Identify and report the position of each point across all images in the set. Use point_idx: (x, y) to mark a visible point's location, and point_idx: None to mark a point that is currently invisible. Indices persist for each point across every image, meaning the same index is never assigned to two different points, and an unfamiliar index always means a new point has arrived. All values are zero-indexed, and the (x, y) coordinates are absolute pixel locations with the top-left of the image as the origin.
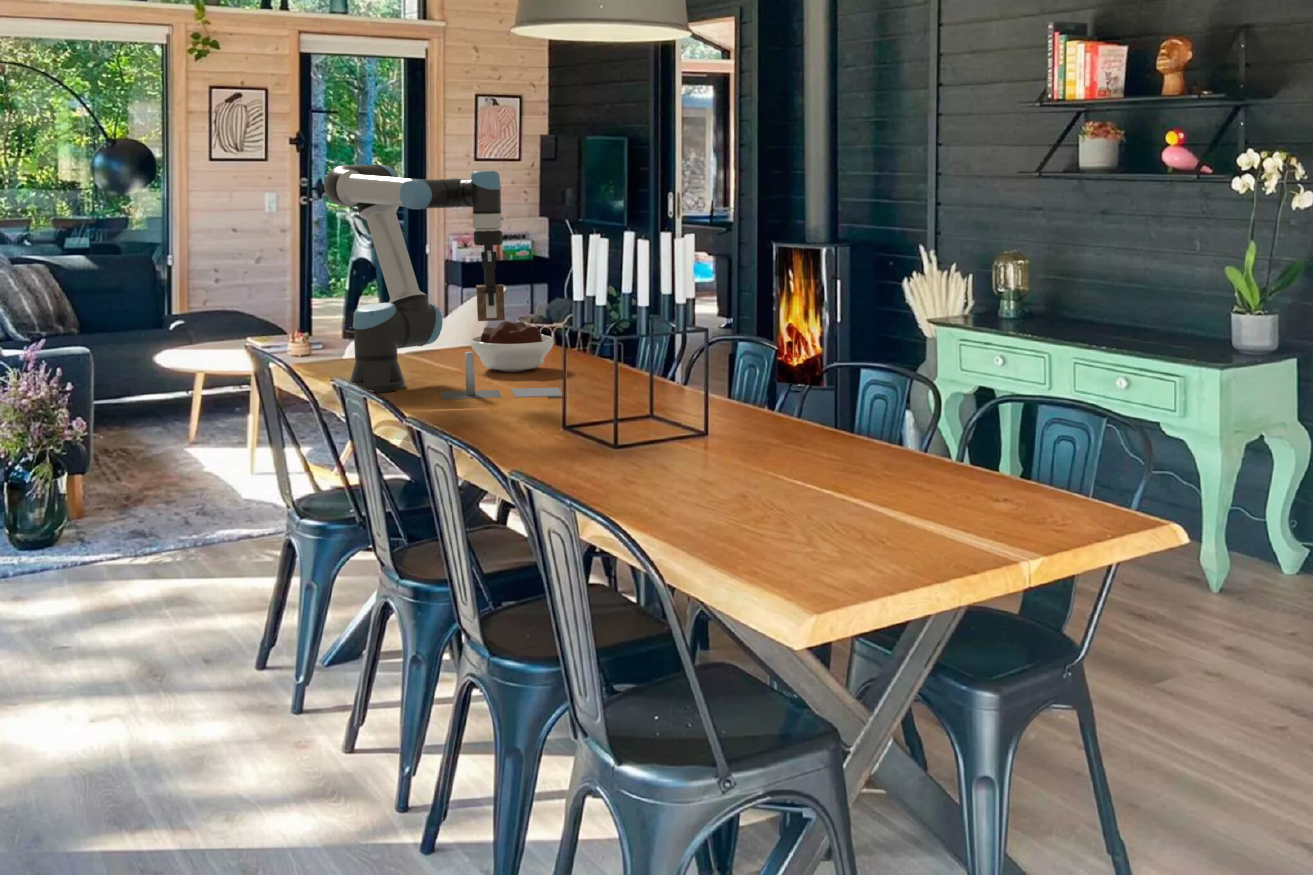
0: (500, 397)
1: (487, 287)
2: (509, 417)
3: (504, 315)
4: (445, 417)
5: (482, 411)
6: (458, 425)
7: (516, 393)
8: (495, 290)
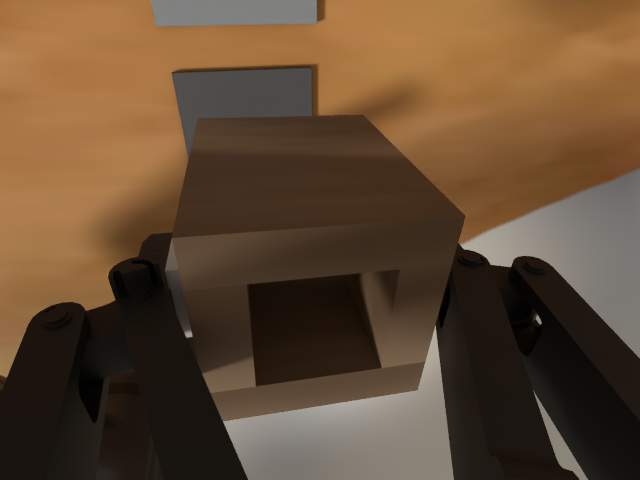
0: (310, 72)
1: (537, 325)
2: (563, 58)
3: (371, 124)
4: (499, 197)
5: (467, 123)
6: (584, 169)
7: (254, 13)
8: (540, 259)
